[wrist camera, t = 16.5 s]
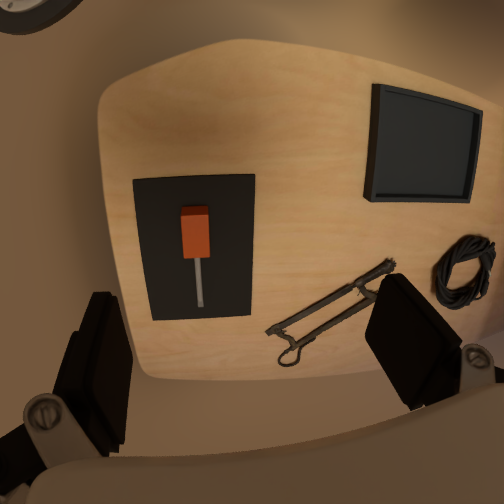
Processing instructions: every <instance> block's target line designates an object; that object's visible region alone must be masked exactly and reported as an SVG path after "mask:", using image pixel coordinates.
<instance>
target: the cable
mask: <svg viewBox="0 0 504 504" xmlns="http://www.w3.org/2000/svg"><path fill="white" fill-rule="evenodd" d="M494 246H495V242H492V243H491V245H490V242H489V241H487V239H486V238H485V239H484V240H483V241H482V240H481V239H480V238H478V237H476V238H475V237H469V238H467V239H466V240H465V241H464V242H463V243H461V244H458V245H457V246H456V247H455V249H453V250H452V251H451V252H450V253H449V254H448V255H447V256H446V257H445V258H444V259H443V261H441V262H440V263H439V264H438V267H437V276H436V280H435V287H436V296H437V299H438V301H439V303H440V304H441V305H443V306H445V307H447V308H449V309H452V310H457V309H460V308H462V307H464V306H468V305H470V302H472V301H473V300H479V299H481V298H482V297H483V296H484V295H486V293H487V289H488V285H489V282H488V281H489V280H488V279H489V276H491V268H492V266H493V261H494V259H495V257H496V252H495V251H494V250H495V248H494ZM478 256H480V259H481V261H482V263H483V268H482V273H481V274H480V276H479V277H478V279H477V281H476V283H475V285H474V286H473V287H466V288H461V289H458V291H457V292H450V291H449V290H448V289H447V288H446V286H447V284H448V281H449V278H450V275H451V272H452V268H453V266H454V265H455V264H456V263H460V262H463V261H467V260H470V259H474V258H477V257H478ZM479 291H480V295H481V296H480V297H479V298H476V296H477V295H478V293H479ZM451 294H452V295H451Z"/></svg>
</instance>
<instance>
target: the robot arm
mask: <svg viewBox="0 0 504 504" xmlns="http://www.w3.org/2000/svg"><path fill="white" fill-rule="evenodd" d="M46 1H48V0H0V7H1V8H3V9H4V10H7V11H9V12H14V13H20V12H25V11H29V10H31V9H34V8H36V7H38V6H40V5H42V4H43V3H45V2H46ZM365 339H366V341H367V343H368V345H369V346H370V348H371V350H372V351H373V353H374V355H375V356H376V358H377V360H378V361H379V363H380V365H381V366H382V368H383V370H384V371H385V373H386V374H387V376H388V378H389V380H390V381H391V383H392V385H393V386H394V388H395V390H396V392H397V393H398V395H399V397H400V398H401V400H402V402H403V403H404V404H406V405H407V406H408V407H409V409H410V411H412V410H415V409H418V408H420V407H422V406H423V404H424V405H425V407H424V408H421V409H419V410H416V411H413V412H410V413H408V414H405V415H402V416H399V417H396V418H393V419H390V420H387V421H384V422H380V423H377V424H374V425H370V426H367V427H364V428H360V429H357V430H352V431H349V432H345V433H341V434H337V435H333V436H328V437H324V438H320V439H315V440H311V441H305V442H301V443H295V444H289V445H284V446H278V447H271V448H264V449H257V450H250V451H241V452H232V453H221V454H207V455H190V456H162V457H160V456H159V457H142V456H140V457H109V452H114V453H119V444H124V441H125V430H126V419H127V407H128V397H129V388H130V381H131V373H132V364H133V356H132V351H131V348H130V345H129V341H128V337H127V334H126V330H125V327H124V323H123V319H122V315H121V311H120V307H119V303H118V299H117V297H116V296H112V294H111V293H110V292H93V294H92V297H91V299H90V301H89V304H88V307H87V309H86V312H85V314H84V317H83V320H82V323H81V325H80V328H79V331H74V332H73V333H72V335H71V337H70V340H69V343H68V346H67V348H66V352H65V355H64V358H63V360H62V363H61V366H60V369H59V372H58V376H57V379H56V382H55V386H54V389H53V392H52V394H50V393H44V394H40V395H37V396H35V397H34V398H32V399H31V400H30V401H29V402H28V403H27V404H26V406H25V408H24V411H23V421H24V423H23V424H22V425H20V426H19V427H17V428H15V429H14V430H12V431H11V432H9V433H8V434H6V435H5V436H3V437H1V438H0V504H504V369H501V368H498V367H495V366H494V360H493V357H492V356H491V354H490V353H489V351H487V349H485V348H484V347H482V346H480V345H478V344H467V345H465V346H464V347H463V349H461V348H460V347H459V346H460V345H461V343H462V340H461V338H460V337H459V336H458V335H457V334H456V332H455V331H454V330H453V329H452V328H451V327H450V325H449V324H448V323H447V322H446V321H445V320H444V319H443V317H442V316H441V315H440V314H439V313H438V312H437V311H436V310H435V308H434V307H433V306H432V305H431V304H430V303H429V302H428V301H427V300H426V299H425V297H424V296H423V295H422V294H421V293H420V292H419V291H418V290H417V289H416V288H415V287H414V286H413V285H412V284H411V283H410V281H409V280H408V279H407V278H406V277H405V276H404V275H403V274H401V273H396V274H388V275H386V276H385V278H384V279H383V280H382V281H381V284H380V287H379V291H378V294H377V298H376V301H375V304H374V307H373V310H372V314H371V317H370V320H369V323H368V326H367V329H366V332H365Z"/></svg>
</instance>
